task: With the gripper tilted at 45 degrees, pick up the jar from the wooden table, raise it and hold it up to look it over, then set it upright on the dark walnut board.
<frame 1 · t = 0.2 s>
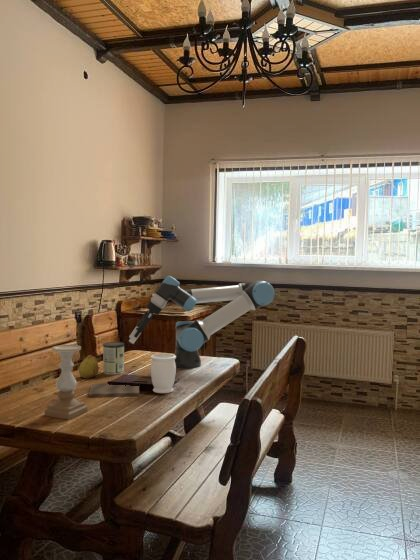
hand: (131, 340, 239), 16 cm above the table, tool tilted 35°, fingers open, 13 cm apart
walnut board: (114, 390, 207), on the table
candle holder: (66, 413, 176), on the table
coffee can: (113, 372, 240), on the table
fruit: (88, 377, 229), on the table
jar: (163, 391, 208), on the table
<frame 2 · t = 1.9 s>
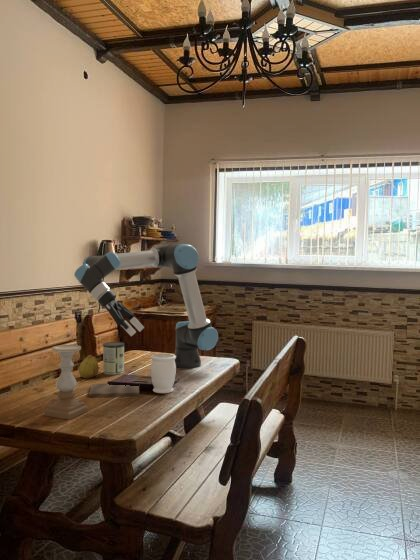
hand: (138, 331, 208), 25 cm above the table, tool tilted 45°, fingers open, 13 cm apart
nothing on the table moved.
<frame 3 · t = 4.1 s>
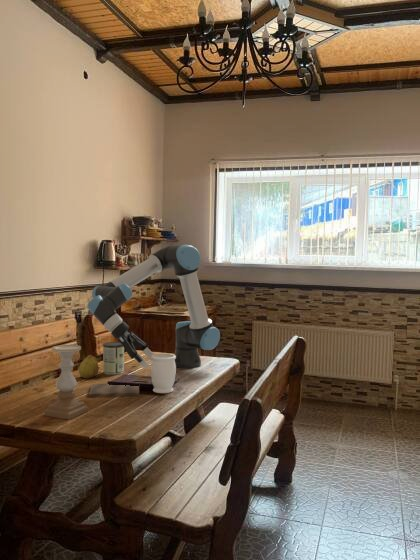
hand: (151, 363, 207), 12 cm above the table, tool tilted 45°, fingers open, 13 cm apart
nothing on the table moved.
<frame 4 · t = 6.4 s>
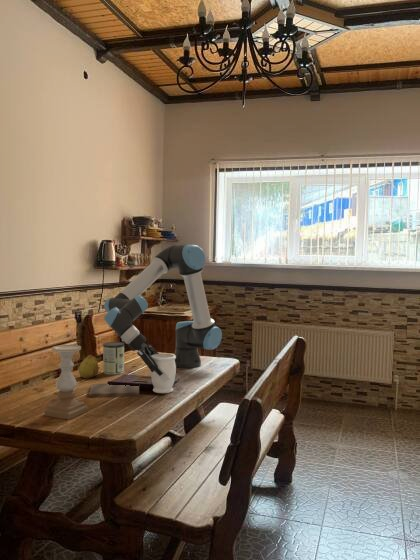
hand: (170, 377, 207), 6 cm above the table, tool tilted 45°, fingers closed on jar, 10 cm apart
jar: (163, 391, 208), on the table, touching gripper
everything else where it was.
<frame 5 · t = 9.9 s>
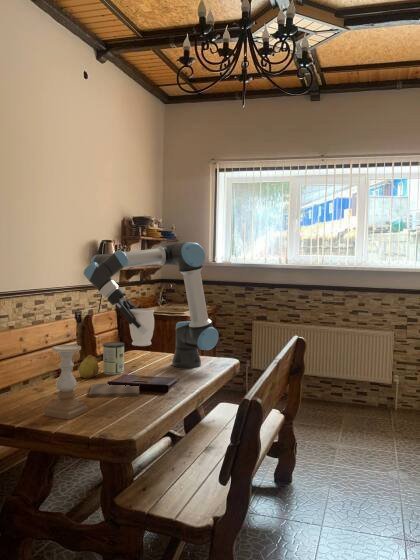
hand: (148, 330, 210), 25 cm above the table, tool tilted 45°, fingers closed on jar, 10 cm apart
jar: (141, 345, 210), point 19 cm above the table, touching gripper
everything else where it was.
when the fingers open (8 cm above the table, at t = 13.8 s): jar drops 1 cm, resting on walnut board.
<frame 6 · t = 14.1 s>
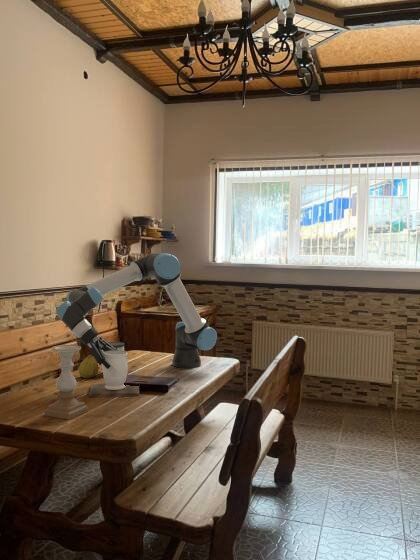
hand: (120, 369, 206), 9 cm above the table, tool tilted 45°, fingers open, 13 cm apart
jar: (115, 388, 207), point 1 cm above the table, touching walnut board
everything else where it was.
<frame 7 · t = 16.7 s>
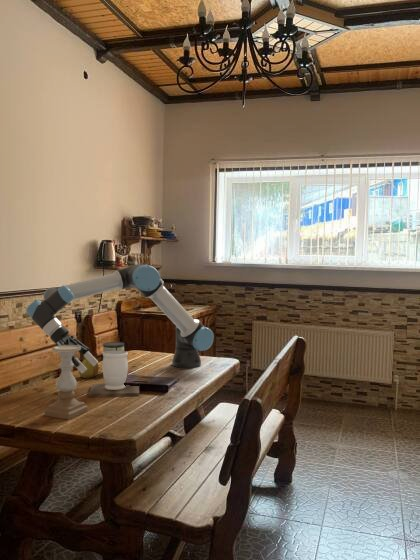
hand: (90, 367, 207), 9 cm above the table, tool tilted 45°, fingers open, 13 cm apart
nothing on the table moved.
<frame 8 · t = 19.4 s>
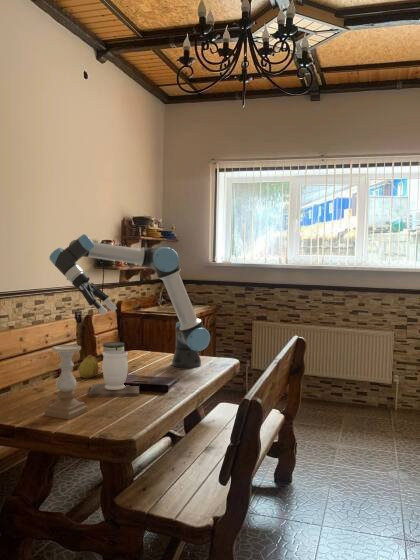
hand: (110, 311, 219), 32 cm above the table, tool tilted 45°, fingers open, 13 cm apart
nothing on the table moved.
at the end: jar inside the target area on the walnut board (0.4 cm from its centre), point 0.7 cm above the walnut board's base; jar tilted 0°; the gripper is holding nothing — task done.
